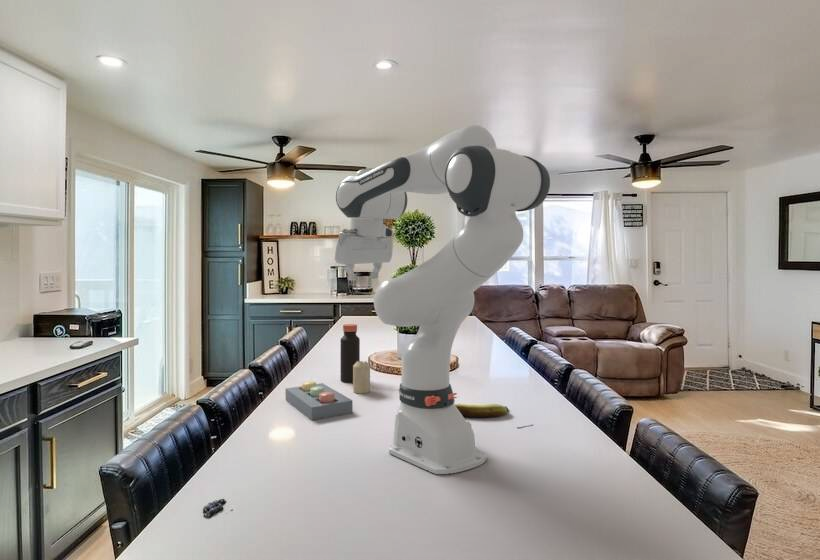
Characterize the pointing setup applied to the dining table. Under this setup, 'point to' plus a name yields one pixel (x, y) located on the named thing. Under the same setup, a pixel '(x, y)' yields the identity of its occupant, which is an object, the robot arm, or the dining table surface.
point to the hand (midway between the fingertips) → (363, 279)
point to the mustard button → (308, 385)
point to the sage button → (316, 391)
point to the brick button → (326, 397)
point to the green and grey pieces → (482, 411)
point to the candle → (361, 377)
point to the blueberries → (213, 508)
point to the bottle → (349, 351)
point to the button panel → (318, 403)
